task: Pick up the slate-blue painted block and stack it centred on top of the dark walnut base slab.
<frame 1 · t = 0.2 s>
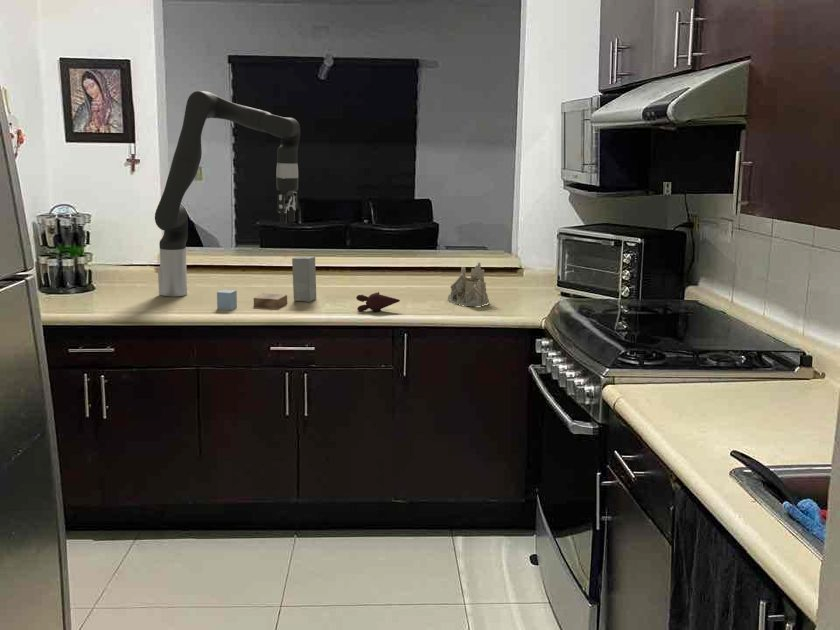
hand: (287, 222, 306), 29 cm above the countertop, fingers open, 8 cm apart
blue block: (227, 308, 300), on the countertop
ceramic cottage: (467, 303, 321), on the countertop
walnut base: (270, 306, 307), on the countertop
icecream: (377, 311, 302), on the countertop
skincare box: (304, 300, 318), on the countertop
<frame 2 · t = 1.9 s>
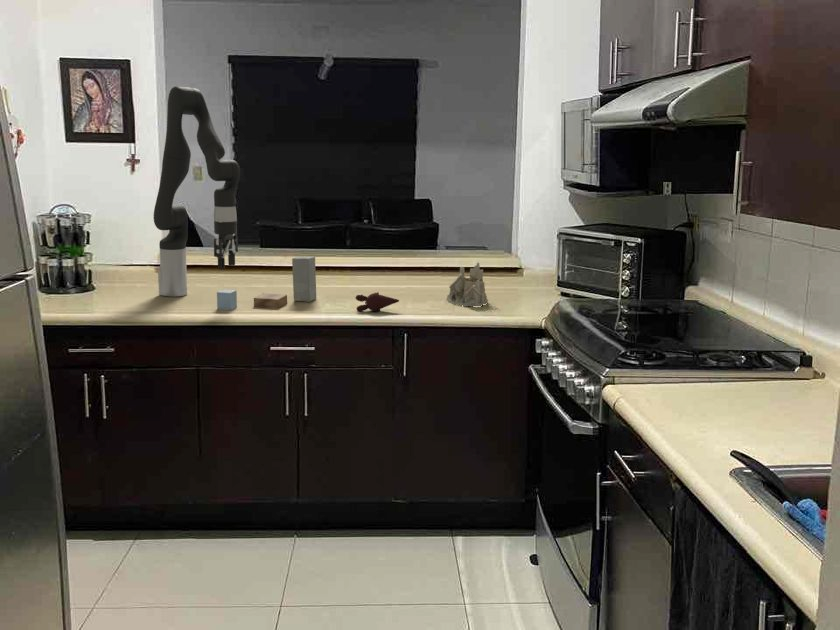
hand: (226, 267, 297), 14 cm above the countertop, fingers open, 8 cm apart
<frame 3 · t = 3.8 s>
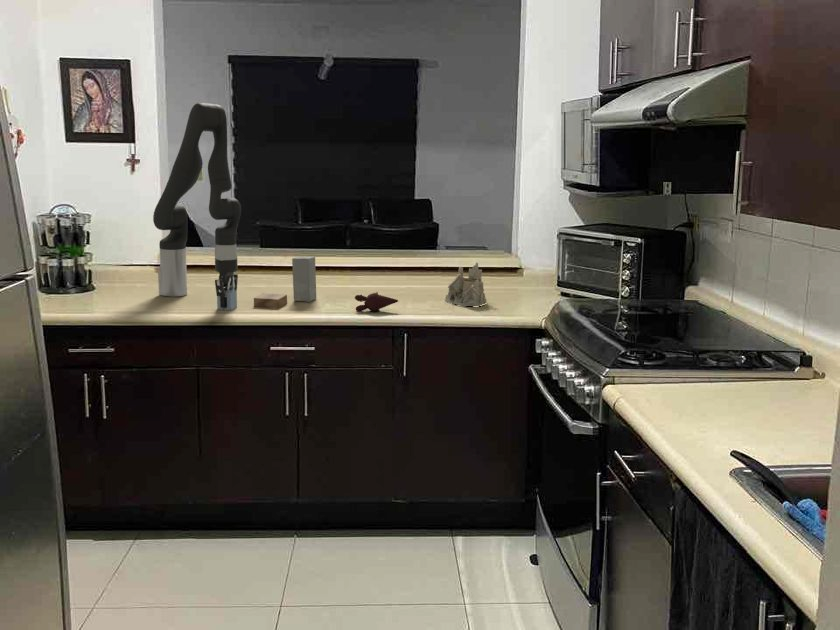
hand: (227, 306, 300), 1 cm above the countertop, fingers closed on blue block, 5 cm apart
blue block: (227, 308, 300), on the countertop, touching gripper
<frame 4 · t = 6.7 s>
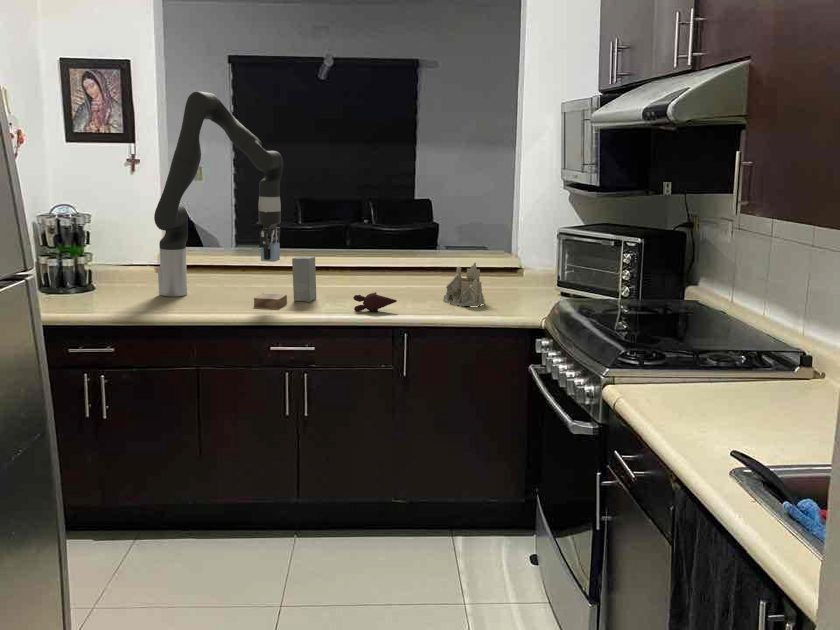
hand: (270, 258, 304), 17 cm above the countertop, fingers closed on blue block, 5 cm apart
blue block: (270, 260, 304), point 16 cm above the countertop, touching gripper
when the fingers open (5 cm above the countertop, at t = 9.5 s): blue block drops 1 cm, resting on walnut base.
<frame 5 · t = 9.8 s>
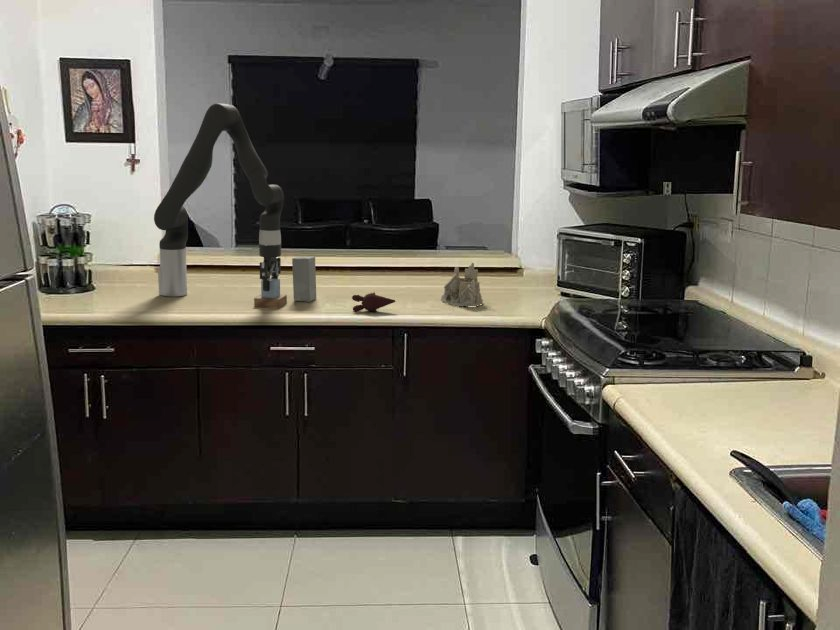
hand: (270, 289, 306), 6 cm above the countertop, fingers open, 7 cm apart
blue block: (270, 296, 306), point 3 cm above the countertop, touching walnut base
walnut base: (270, 306, 307), on the countertop, touching blue block
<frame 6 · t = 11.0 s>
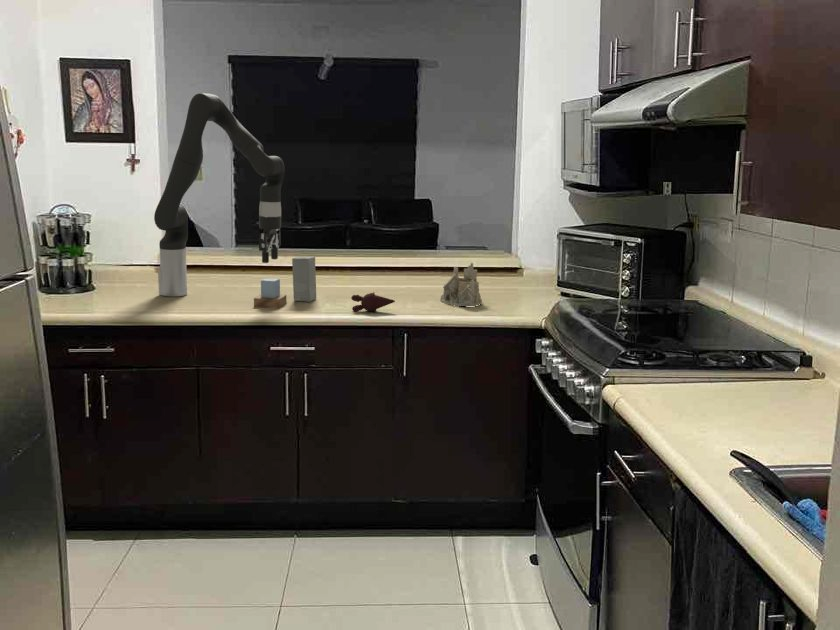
hand: (269, 261, 304), 16 cm above the countertop, fingers open, 8 cm apart
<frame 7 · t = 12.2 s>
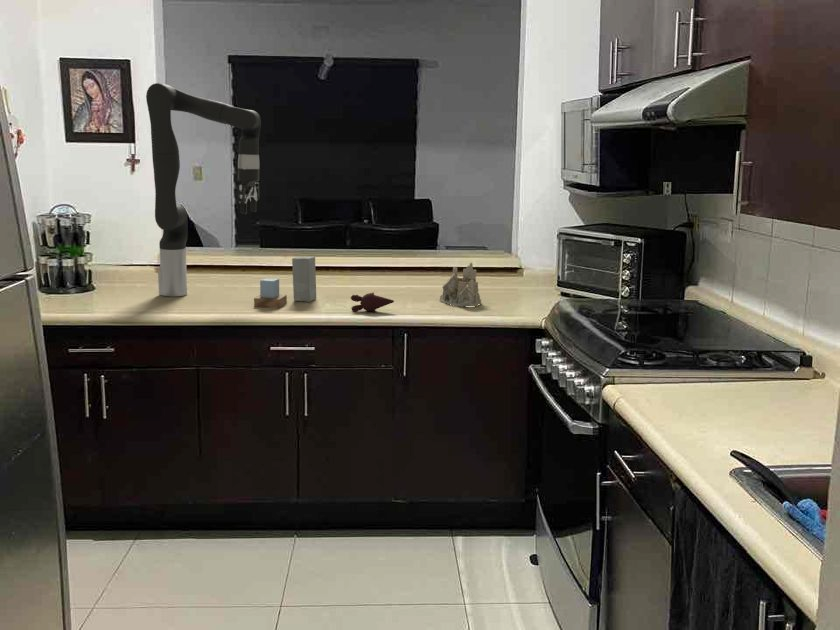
hand: (248, 212, 313), 31 cm above the countertop, fingers open, 8 cm apart
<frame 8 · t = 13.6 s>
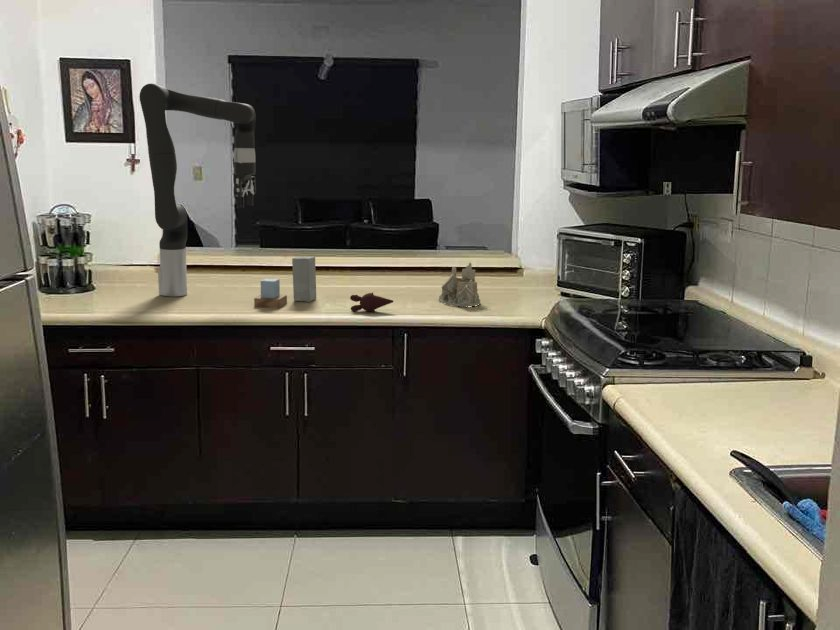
hand: (245, 206, 314), 33 cm above the countertop, fingers open, 8 cm apart
at the end: blue block 0.3 cm off-centre on the walnut base, point 3.5 cm above the walnut base's base; blue block tilted 1°; blue block touching walnut base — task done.
